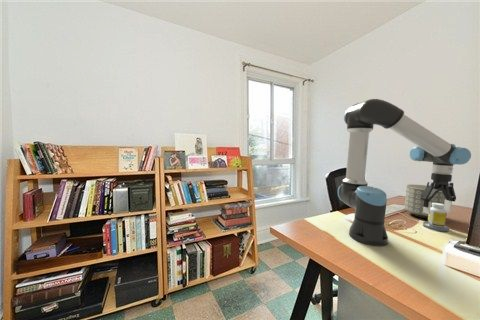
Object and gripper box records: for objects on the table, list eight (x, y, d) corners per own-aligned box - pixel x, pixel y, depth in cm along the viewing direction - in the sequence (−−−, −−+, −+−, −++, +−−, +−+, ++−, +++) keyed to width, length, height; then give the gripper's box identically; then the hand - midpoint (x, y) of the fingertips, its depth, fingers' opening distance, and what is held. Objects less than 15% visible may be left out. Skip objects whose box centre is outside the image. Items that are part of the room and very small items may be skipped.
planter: (440, 215, 125) (443, 187, 123) (451, 225, 109) (455, 193, 107) (401, 209, 135) (404, 183, 133) (406, 217, 119) (409, 188, 117)
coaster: (430, 230, 101) (430, 227, 101) (418, 223, 111) (418, 220, 111) (454, 233, 99) (455, 230, 99) (440, 225, 108) (440, 222, 108)
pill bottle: (448, 228, 101) (450, 206, 100) (433, 227, 102) (435, 205, 101) (438, 223, 107) (440, 202, 106) (424, 222, 109) (426, 201, 108)
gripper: (430, 174, 96) (425, 216, 98) (469, 174, 101) (463, 214, 103) (414, 171, 104) (409, 210, 106) (451, 172, 108) (446, 209, 110)
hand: (436, 212), depth 104 cm, fingers open, 13 cm apart
